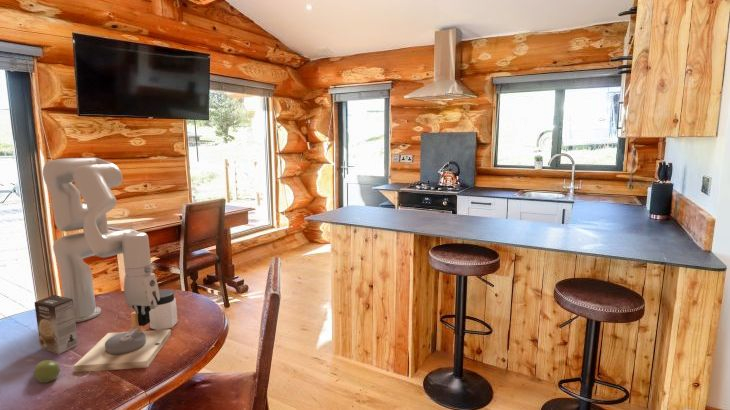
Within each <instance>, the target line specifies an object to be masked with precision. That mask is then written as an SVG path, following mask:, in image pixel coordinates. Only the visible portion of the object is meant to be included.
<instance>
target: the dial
mask: <svg viewBox="0 0 730 410" xmlns="http://www.w3.org/2000/svg"><path fill="white" fill-rule="evenodd" d="M130 318H131V328H130V329H129V330H128V331H124V332H125V333H121V334H118V335H115V336H113V337H111V338H110V339H108V340H107V341H106V342H105V350H106V352H107V353H108V354H112V355H119V354H126V353H130V352H133V351H135V350H137V349H139V348H141V347H142V346H144V345H145V343H146V337H145V334H144V333H143V332H141V331H142V329H141V327H142V326H139V323H138V314H136V313H135V311H133V312H131V313H130Z"/></svg>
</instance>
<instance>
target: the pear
mask: <svg viewBox="0 0 730 410" xmlns="http://www.w3.org/2000/svg"><path fill="white" fill-rule="evenodd" d="M60 372H61V367H60V364H59V363H58V362H57V361H56V360H49V359H48V360H47V359H45V360H41V361H38V363H37V364H36V365H35V367H34V369H33V376H34V377H35V378H36V380H37V381H38V382H40V383H50V382H52V381H54V380H55V379H56V378H57V377H59V375H60Z"/></svg>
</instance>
